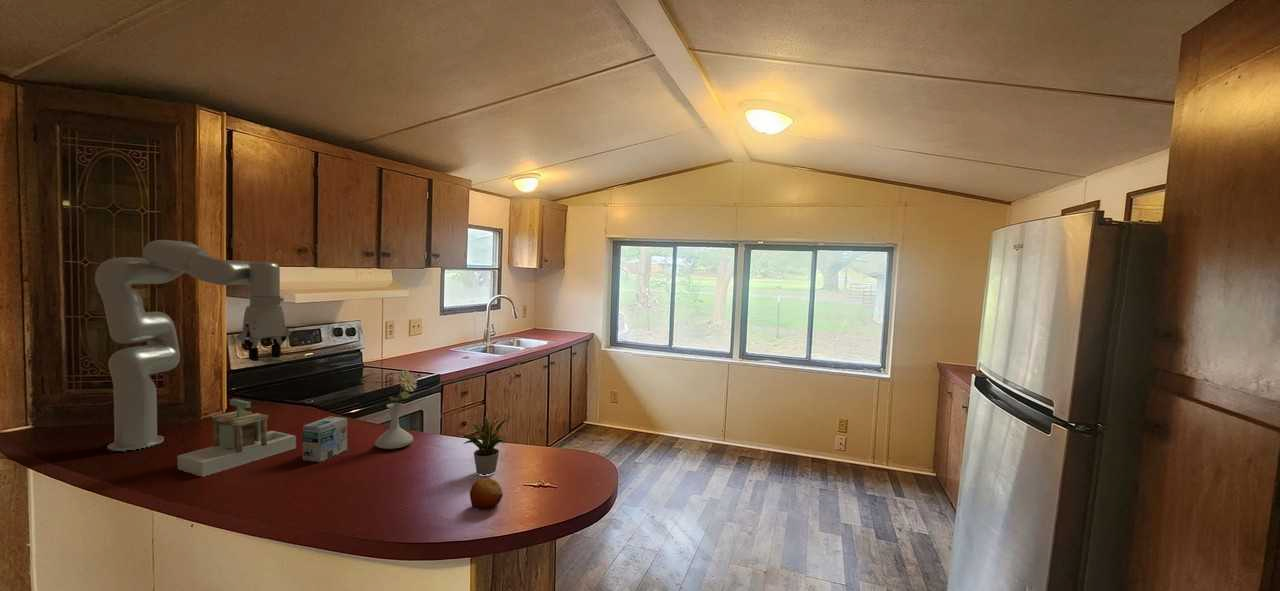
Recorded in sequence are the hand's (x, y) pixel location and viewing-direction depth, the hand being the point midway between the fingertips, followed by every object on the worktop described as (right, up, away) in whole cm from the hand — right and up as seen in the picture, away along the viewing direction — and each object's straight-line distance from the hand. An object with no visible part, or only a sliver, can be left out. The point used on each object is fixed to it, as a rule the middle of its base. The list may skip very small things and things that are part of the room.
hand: (265, 358), depth 154 cm
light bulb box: (+20, -30, -1) cm, 36 cm away
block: (-3, -26, -5) cm, 26 cm away
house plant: (+73, -32, -10) cm, 81 cm away
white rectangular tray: (-3, -30, -5) cm, 30 cm away
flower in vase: (+37, -30, +9) cm, 49 cm away
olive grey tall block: (-3, -25, -5) cm, 26 cm away
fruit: (+80, -33, -32) cm, 92 cm away
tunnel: (-3, -26, -5) cm, 26 cm away
